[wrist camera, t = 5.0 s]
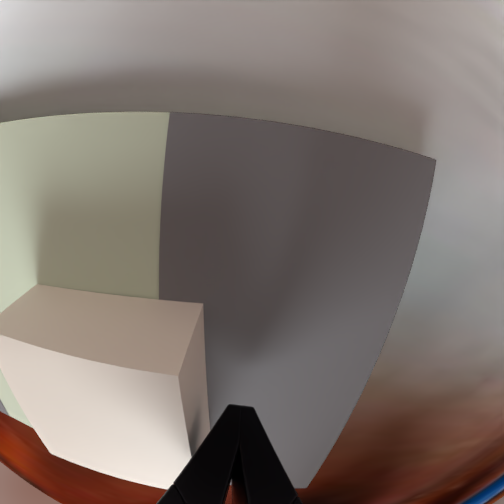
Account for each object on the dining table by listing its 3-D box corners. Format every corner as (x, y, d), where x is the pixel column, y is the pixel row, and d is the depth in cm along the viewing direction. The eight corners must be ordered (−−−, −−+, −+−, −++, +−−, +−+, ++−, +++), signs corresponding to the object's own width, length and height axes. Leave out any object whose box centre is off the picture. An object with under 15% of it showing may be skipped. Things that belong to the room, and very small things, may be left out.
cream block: (210, 432, 10) (199, 494, 8) (78, 405, 11) (50, 453, 8) (203, 303, 8) (178, 376, 6) (37, 283, 8) (-17, 327, 6)
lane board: (305, 473, 13) (306, 487, 12) (-36, 375, 13) (-42, 382, 12) (418, 157, 8) (435, 159, 7) (-85, 145, 7) (-97, 148, 6)
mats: (306, 487, 12) (306, 488, 12) (-42, 382, 12) (-43, 382, 12) (435, 159, 7) (436, 159, 7) (-97, 148, 6) (-97, 148, 6)
